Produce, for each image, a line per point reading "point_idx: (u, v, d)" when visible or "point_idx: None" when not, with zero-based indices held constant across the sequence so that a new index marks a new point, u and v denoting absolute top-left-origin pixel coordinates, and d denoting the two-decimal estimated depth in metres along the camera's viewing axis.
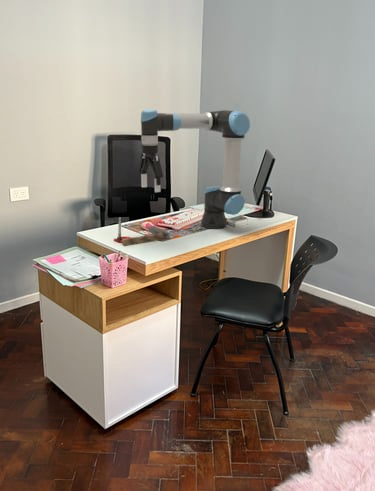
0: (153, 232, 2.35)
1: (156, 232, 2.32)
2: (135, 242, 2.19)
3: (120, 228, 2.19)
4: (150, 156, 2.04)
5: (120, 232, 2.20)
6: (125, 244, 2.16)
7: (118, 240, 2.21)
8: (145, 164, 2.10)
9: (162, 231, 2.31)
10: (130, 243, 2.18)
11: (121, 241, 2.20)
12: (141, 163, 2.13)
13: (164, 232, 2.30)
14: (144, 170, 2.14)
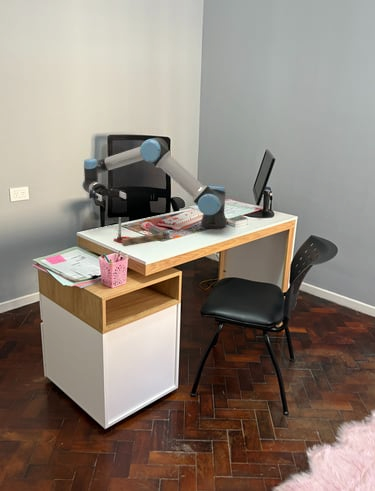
0: (153, 232, 2.35)
1: (156, 232, 2.32)
2: (135, 242, 2.19)
3: (120, 228, 2.19)
4: None
5: (120, 232, 2.20)
6: (125, 244, 2.16)
7: (118, 240, 2.21)
8: (110, 194, 2.39)
9: (162, 231, 2.31)
10: (130, 243, 2.18)
11: (121, 241, 2.20)
12: None
13: (164, 232, 2.30)
14: (117, 193, 2.38)
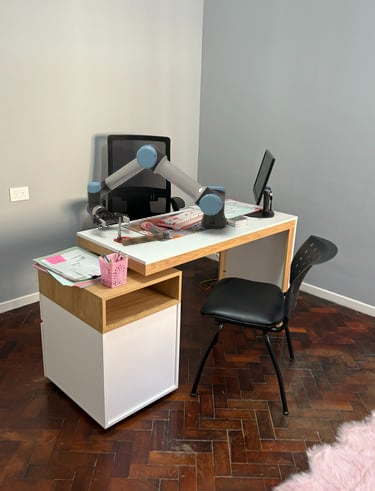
0: (153, 232, 2.35)
1: (156, 232, 2.32)
2: (135, 242, 2.19)
3: (120, 228, 2.19)
4: None
5: (120, 232, 2.20)
6: (125, 244, 2.16)
7: (118, 240, 2.21)
8: (113, 218, 2.40)
9: (162, 231, 2.31)
10: (130, 243, 2.18)
11: (121, 241, 2.20)
12: None
13: (164, 232, 2.30)
14: None
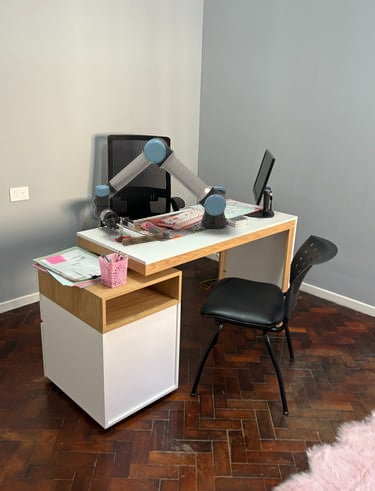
0: (153, 232, 2.35)
1: (156, 232, 2.32)
2: (135, 242, 2.19)
3: None
4: None
5: (121, 232, 2.20)
6: (125, 244, 2.16)
7: (119, 240, 2.21)
8: None
9: (162, 231, 2.31)
10: (130, 243, 2.18)
11: None
12: None
13: (164, 232, 2.30)
14: (126, 224, 2.27)
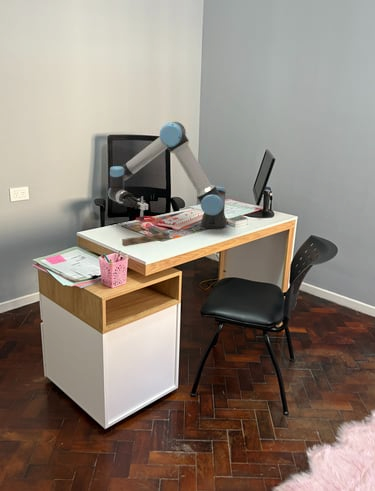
0: (153, 232, 2.35)
1: (156, 232, 2.32)
2: (135, 242, 2.19)
3: None
4: None
5: (142, 211, 2.23)
6: (125, 244, 2.16)
7: (140, 219, 2.23)
8: None
9: (162, 231, 2.31)
10: (130, 243, 2.18)
11: (143, 220, 2.23)
12: None
13: (164, 232, 2.30)
14: None
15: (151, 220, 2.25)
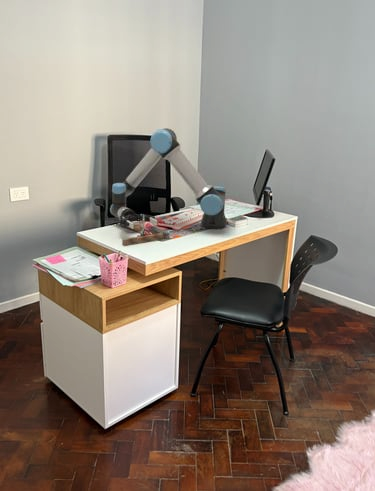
0: (153, 232, 2.35)
1: (156, 232, 2.32)
2: (135, 242, 2.19)
3: None
4: None
5: (144, 229, 2.26)
6: (125, 244, 2.16)
7: None
8: (139, 220, 2.36)
9: (162, 231, 2.31)
10: (130, 243, 2.18)
11: None
12: None
13: (164, 232, 2.30)
14: (147, 219, 2.35)
15: None
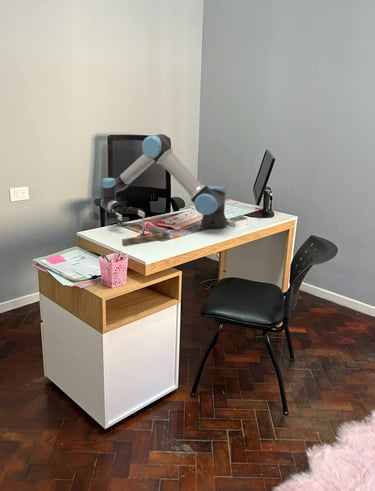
0: (153, 232, 2.35)
1: (156, 232, 2.32)
2: (135, 242, 2.19)
3: None
4: None
5: (144, 229, 2.26)
6: (125, 244, 2.16)
7: None
8: (128, 212, 2.47)
9: (162, 231, 2.31)
10: (130, 243, 2.18)
11: None
12: None
13: (164, 232, 2.30)
14: (135, 212, 2.46)
15: None
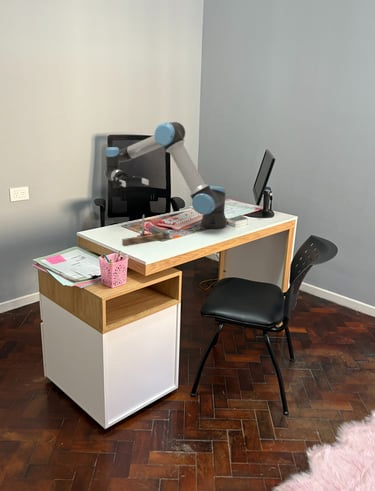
0: (153, 232, 2.35)
1: (156, 232, 2.32)
2: (135, 242, 2.19)
3: None
4: None
5: (143, 229, 2.26)
6: (125, 244, 2.16)
7: None
8: (132, 181, 2.46)
9: (162, 231, 2.31)
10: (130, 243, 2.18)
11: None
12: None
13: (164, 232, 2.30)
14: (139, 180, 2.44)
15: None
